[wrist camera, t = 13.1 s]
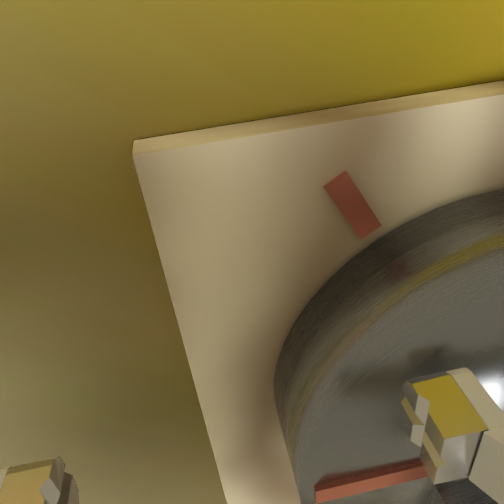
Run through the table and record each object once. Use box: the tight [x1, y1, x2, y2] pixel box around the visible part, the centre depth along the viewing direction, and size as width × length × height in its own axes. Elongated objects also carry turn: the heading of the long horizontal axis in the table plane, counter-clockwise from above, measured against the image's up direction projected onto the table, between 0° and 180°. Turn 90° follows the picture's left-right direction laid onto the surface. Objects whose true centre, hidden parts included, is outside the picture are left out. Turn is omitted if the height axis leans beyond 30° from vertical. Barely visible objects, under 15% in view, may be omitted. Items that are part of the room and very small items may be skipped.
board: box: [132, 80, 504, 504], centre depth 20 cm, size 22×22×1 cm
